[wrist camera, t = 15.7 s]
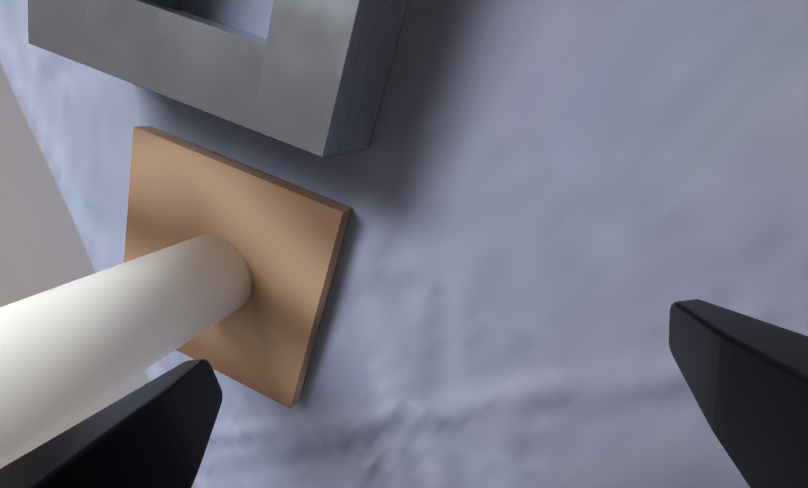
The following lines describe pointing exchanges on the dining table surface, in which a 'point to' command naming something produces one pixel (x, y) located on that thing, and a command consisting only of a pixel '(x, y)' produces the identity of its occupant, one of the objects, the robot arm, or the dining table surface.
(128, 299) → the dome-capped cylinder
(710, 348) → the robot arm
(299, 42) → the collar
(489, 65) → the dining table surface
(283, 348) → the pad
